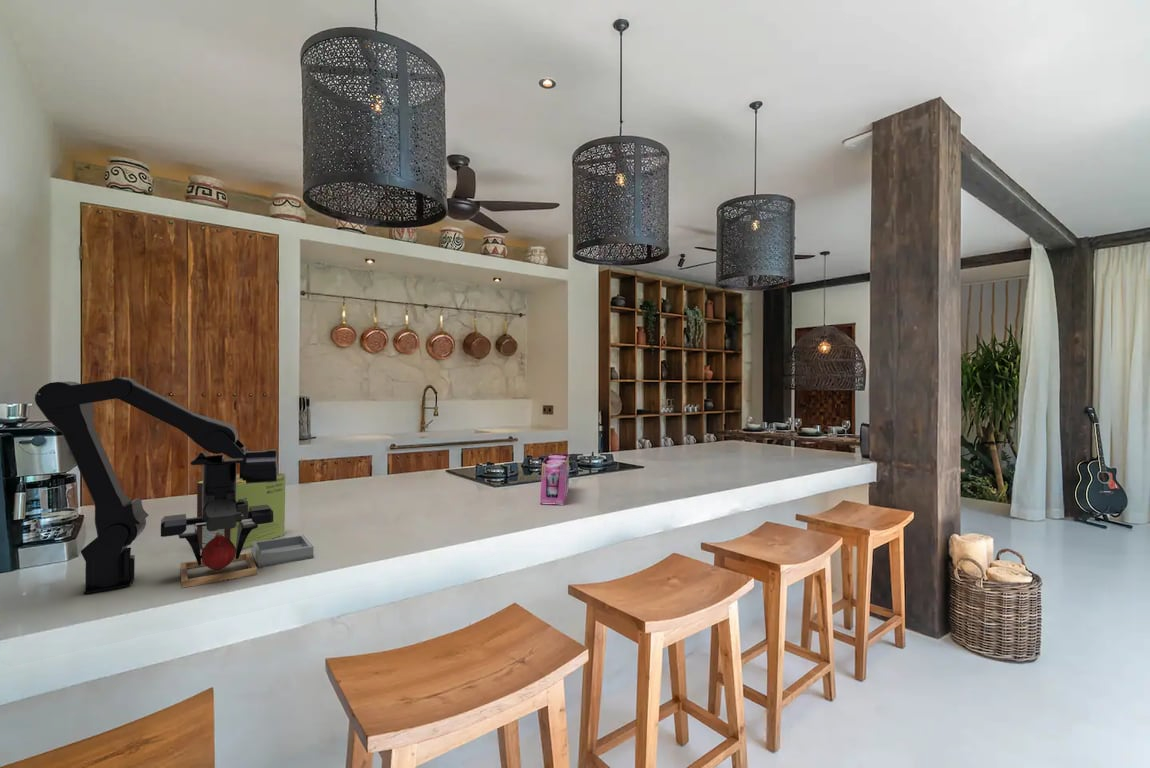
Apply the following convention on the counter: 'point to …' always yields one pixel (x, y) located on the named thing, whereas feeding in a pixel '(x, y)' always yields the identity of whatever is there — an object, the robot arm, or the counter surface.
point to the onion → (218, 553)
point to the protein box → (255, 496)
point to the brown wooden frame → (217, 577)
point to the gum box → (555, 478)
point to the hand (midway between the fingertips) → (218, 561)
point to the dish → (281, 550)
